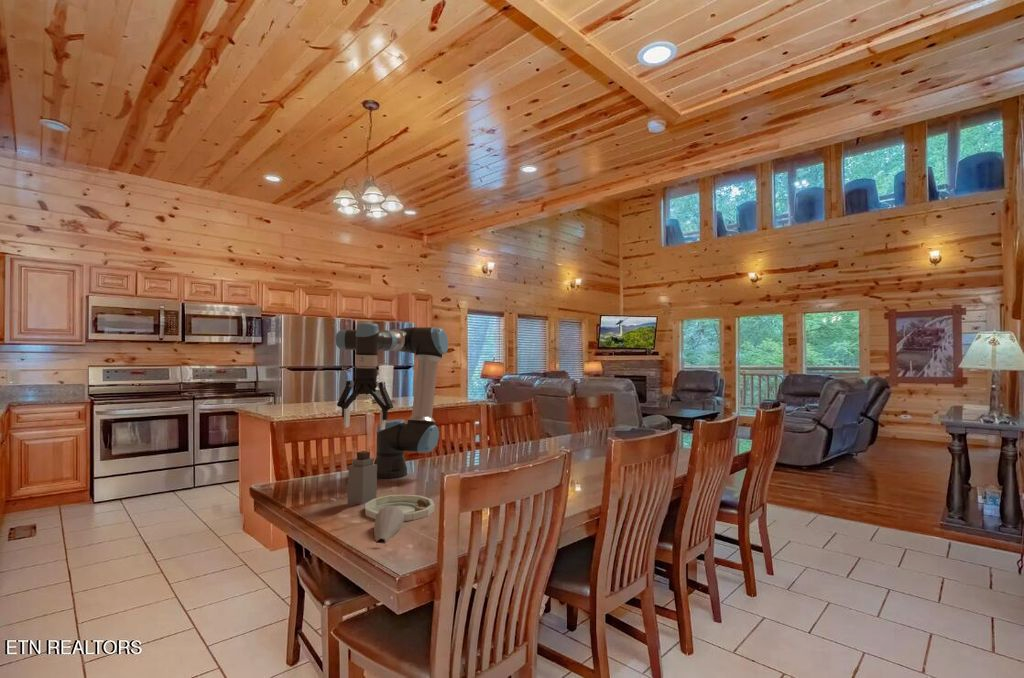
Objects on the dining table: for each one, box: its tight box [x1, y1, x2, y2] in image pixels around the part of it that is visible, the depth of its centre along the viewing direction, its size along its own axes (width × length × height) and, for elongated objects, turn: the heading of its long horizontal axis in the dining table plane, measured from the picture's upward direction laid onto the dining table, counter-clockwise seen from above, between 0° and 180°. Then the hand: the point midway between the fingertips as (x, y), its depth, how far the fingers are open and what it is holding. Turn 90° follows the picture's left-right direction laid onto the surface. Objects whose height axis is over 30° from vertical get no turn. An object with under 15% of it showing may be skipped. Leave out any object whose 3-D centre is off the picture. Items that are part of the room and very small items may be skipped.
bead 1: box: [417, 499, 426, 507], centre depth 174 cm, size 3×3×2 cm
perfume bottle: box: [347, 450, 378, 507], centre depth 179 cm, size 7×7×18 cm
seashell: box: [373, 506, 404, 544], centre depth 150 cm, size 9×11×15 cm
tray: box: [364, 494, 436, 522], centre depth 169 cm, size 22×22×3 cm
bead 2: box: [415, 507, 424, 512], centre depth 166 cm, size 3×3×2 cm
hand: (364, 428), depth 179 cm, fingers open, 13 cm apart
